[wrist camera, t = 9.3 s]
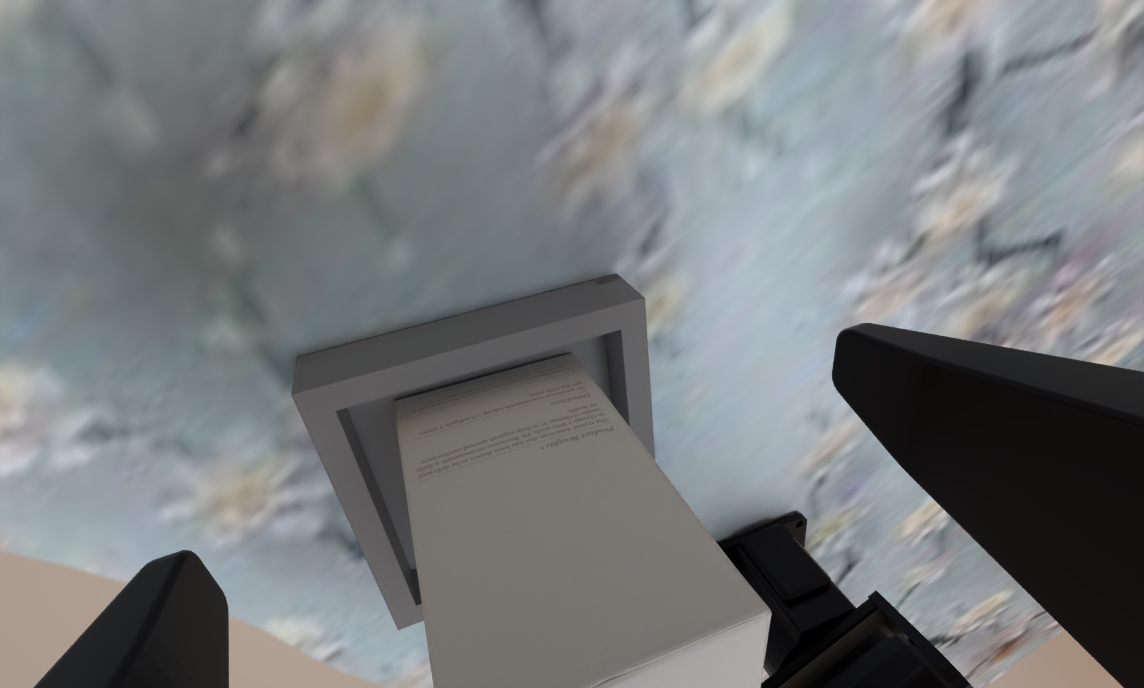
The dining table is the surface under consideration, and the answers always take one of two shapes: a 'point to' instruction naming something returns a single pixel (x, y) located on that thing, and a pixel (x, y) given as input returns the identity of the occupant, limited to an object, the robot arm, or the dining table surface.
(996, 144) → the dining table surface
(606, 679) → the supplement box
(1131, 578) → the robot arm
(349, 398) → the tray
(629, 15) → the dining table surface
